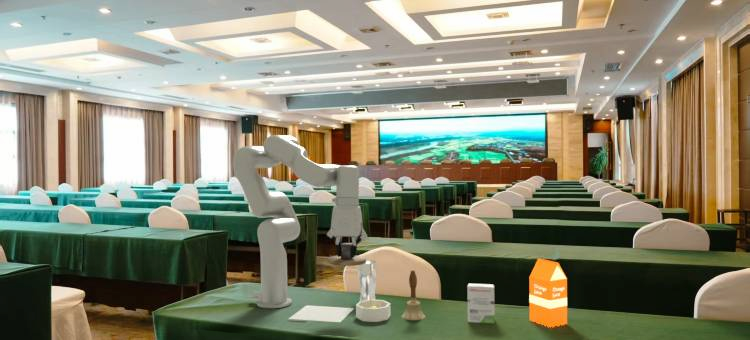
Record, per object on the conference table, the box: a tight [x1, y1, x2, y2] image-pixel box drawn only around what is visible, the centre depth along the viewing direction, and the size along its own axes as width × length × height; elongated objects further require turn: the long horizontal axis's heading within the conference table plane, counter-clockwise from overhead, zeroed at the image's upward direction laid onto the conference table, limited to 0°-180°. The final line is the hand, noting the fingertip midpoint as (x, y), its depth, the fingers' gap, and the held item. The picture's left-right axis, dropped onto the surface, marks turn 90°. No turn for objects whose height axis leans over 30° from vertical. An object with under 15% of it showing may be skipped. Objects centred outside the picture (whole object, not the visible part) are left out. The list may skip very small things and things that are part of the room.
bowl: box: [355, 299, 392, 323], centre depth 172 cm, size 11×11×5 cm
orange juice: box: [528, 257, 568, 329], centre depth 166 cm, size 8×9×20 cm
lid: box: [326, 242, 367, 267], centre depth 174 cm, size 13×13×6 cm
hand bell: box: [401, 270, 426, 321], centre depth 171 cm, size 8×8×16 cm
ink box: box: [466, 282, 496, 324], centre depth 168 cm, size 9×5×12 cm, turn 76°
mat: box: [287, 304, 355, 323], centre depth 176 cm, size 18×16×1 cm
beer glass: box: [357, 259, 378, 301], centre depth 192 cm, size 7×7×15 cm
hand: (346, 255), depth 174 cm, fingers closed on lid, 4 cm apart
